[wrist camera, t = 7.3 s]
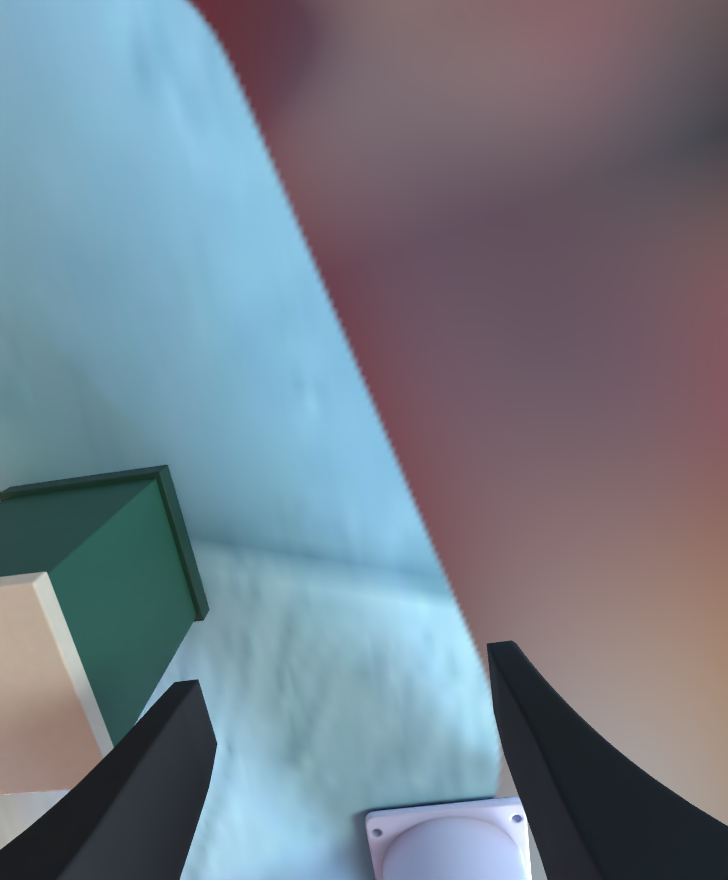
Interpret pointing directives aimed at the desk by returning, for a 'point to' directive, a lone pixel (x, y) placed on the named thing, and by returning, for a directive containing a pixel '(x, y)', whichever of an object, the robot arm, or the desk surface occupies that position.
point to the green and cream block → (87, 617)
